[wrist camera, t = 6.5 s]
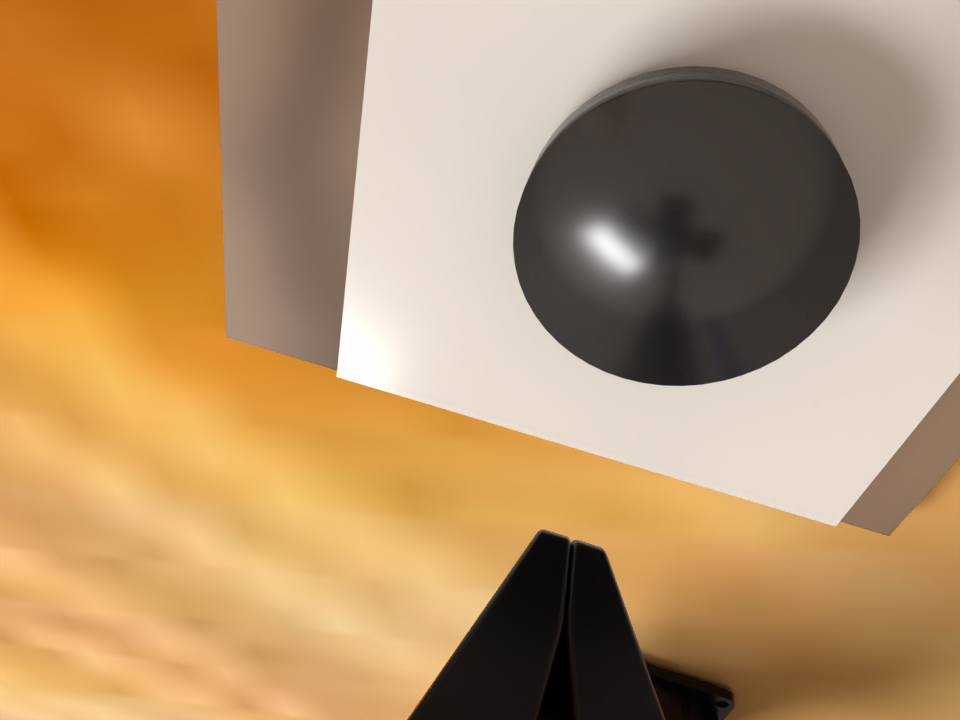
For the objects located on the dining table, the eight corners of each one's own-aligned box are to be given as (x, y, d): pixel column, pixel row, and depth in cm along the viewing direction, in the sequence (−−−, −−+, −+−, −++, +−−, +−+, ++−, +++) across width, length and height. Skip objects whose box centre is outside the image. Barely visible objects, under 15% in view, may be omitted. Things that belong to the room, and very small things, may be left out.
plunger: (829, 15, 14) (938, 141, 8) (733, 219, 17) (765, 419, 11) (605, -45, 14) (560, 39, 9) (547, 167, 17) (484, 337, 11)
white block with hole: (1047, -111, 13) (1317, -71, 7) (789, 330, 19) (835, 526, 14) (510, -248, 13) (401, -301, 8) (429, 226, 19) (336, 376, 14)
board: (1771, -528, 10) (1868, -560, 9) (881, 511, 23) (889, 535, 22) (224, -858, 11) (189, -913, 10) (241, 320, 24) (226, 337, 23)
